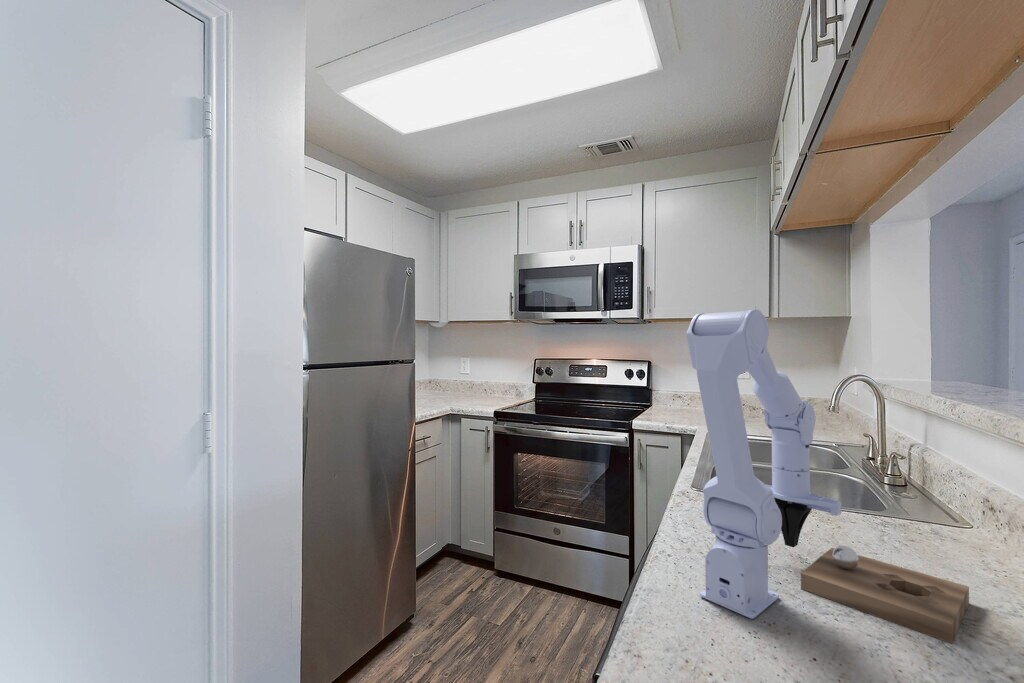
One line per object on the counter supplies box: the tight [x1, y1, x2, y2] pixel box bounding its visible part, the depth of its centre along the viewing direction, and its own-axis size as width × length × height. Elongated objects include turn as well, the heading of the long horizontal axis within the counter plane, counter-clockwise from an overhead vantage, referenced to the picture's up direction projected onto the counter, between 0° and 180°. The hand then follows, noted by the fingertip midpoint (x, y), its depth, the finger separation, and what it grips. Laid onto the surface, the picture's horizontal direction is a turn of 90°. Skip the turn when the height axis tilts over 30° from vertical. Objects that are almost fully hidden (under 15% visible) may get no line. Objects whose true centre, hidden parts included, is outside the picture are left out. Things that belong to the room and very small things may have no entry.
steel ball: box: [832, 545, 859, 569], centre depth 74 cm, size 4×4×4 cm
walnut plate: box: [800, 547, 970, 645], centre depth 71 cm, size 15×18×2 cm
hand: (791, 544), depth 81 cm, fingers closed
